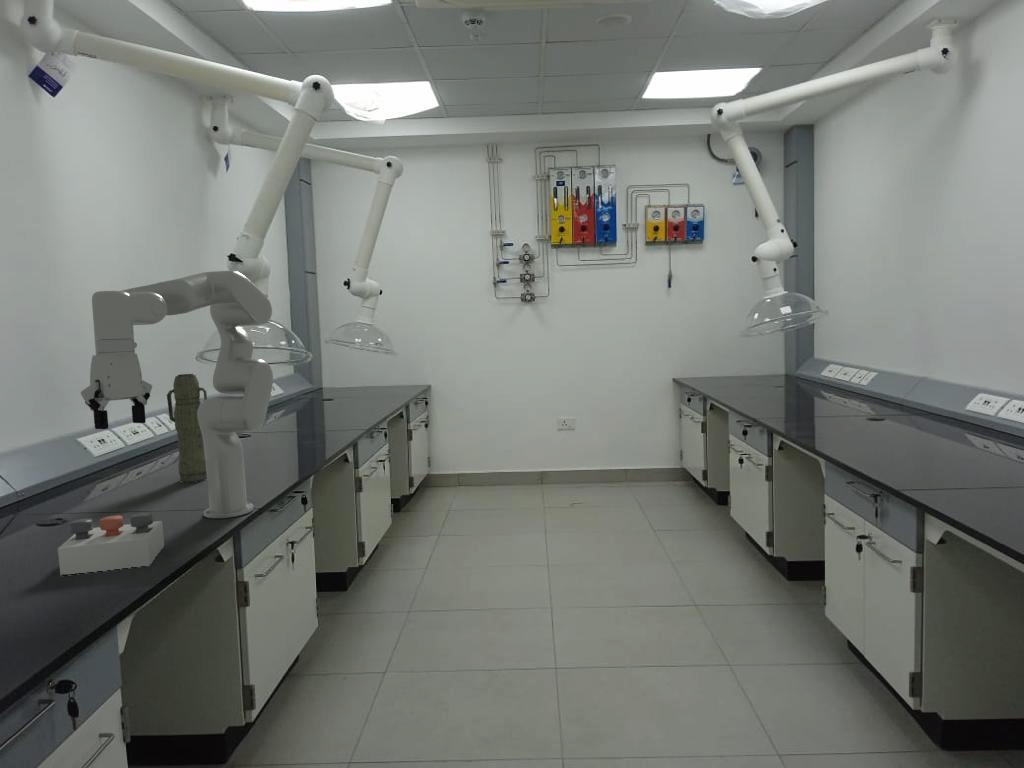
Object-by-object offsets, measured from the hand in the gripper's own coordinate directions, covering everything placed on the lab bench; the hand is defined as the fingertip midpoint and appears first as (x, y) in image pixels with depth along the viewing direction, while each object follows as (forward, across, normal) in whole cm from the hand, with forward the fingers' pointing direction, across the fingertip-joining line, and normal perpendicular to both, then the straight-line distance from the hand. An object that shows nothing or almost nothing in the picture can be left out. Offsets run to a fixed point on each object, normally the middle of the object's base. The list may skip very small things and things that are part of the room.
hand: (121, 425), depth 156 cm
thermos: (+28, -66, -44) cm, 84 cm away
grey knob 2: (+26, -1, +3) cm, 26 cm away
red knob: (+26, +2, -2) cm, 26 cm away
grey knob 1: (+26, +6, -7) cm, 27 cm away
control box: (+30, +2, -2) cm, 30 cm away
